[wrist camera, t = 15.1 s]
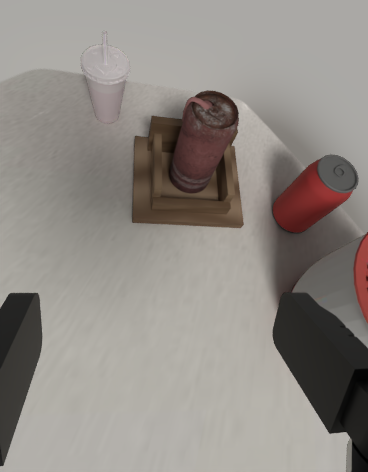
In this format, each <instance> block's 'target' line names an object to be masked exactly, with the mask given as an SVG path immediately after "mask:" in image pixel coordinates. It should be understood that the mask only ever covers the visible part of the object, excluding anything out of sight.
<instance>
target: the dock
mask: <svg viewBox="0 0 368 472" xmlns="http://www.w3.org/2000/svg"><path fill="white" fill-rule="evenodd" d="M182 123H183V122H182V119H174V118H165V117H157V116H152V118H151V124H150V131H149V137H140V136H135V148H134V183H133V219H132V222H133V223H152V224H172V225H192V226H211V227H231V228H241V227H242V226H243V225H244V224H243V216H242V207H241V199H240V190H239V182H238V173H237V165H236V156H235V148H234V146H231V145H232V143H233V141H234V139H235V137H236V135H237V133H238V130H237V128H236V130H235V132H234V134H233V136H232V138H231V140H230V142H229V144H228V146H227V148H226V150H225V152H224V154H223V156H222V158H221V160H220V162H219V164H218V166H217V167H216V169H215V171H214V173H213V175H212V177H211V179H210V181H209V183H208V185H207V187H206V188H205V189H204V190H202V191H201V192H198V193H185V192H182V191H180V190H178V189H177V188H176V187H175V186H174V185H173V184H172V182H171V180H170V177H169V170H170V166H171V163H172V159H173V155H174V152H175V148H176V145H177V141H178V138H179V134H180V131H181V127H182Z"/></svg>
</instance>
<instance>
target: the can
mask: <svg viewBox="0 0 368 472" xmlns="http://www.w3.org/2000/svg"><path fill="white" fill-rule="evenodd" d="M238 114H239V113H238V109H237V106H236V105H235V103H234V102H233V101H232V100H231V99H230V98H229V97H228V96H226V95H224V94H222V93H220V92H216V91H204V92H200V93H199V94H197V95H196V96H195V97H191V98H190V99H188V100H187V103H186V105H185V108H184V111H183V118H182V122H183V123H182V127H181V131H180V134H179V138H178V141H177V145H176V148H175V152H174V155H173V159H172V163H171V166H170V170H169V177H170V180H171V182H172V184H173V185H174V186H175V187H176V188H177V189H178V190H180V191H182V192H185V193H198V192H201V191H202V190H204V189H205V188H206V187H207V185H208V183H209V181H210V179H211V177H212V175H213V173H214V171H215V169H216V167H217V166H218V164H219V162H220V160H221V158H222V156H223V154H224V152H225V150H226V148H227V146H228V144H229V142H230V140H231V138H232V136H233V134H234V132H235V130H236V128H237V126H238V121H239V118H238Z"/></svg>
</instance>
